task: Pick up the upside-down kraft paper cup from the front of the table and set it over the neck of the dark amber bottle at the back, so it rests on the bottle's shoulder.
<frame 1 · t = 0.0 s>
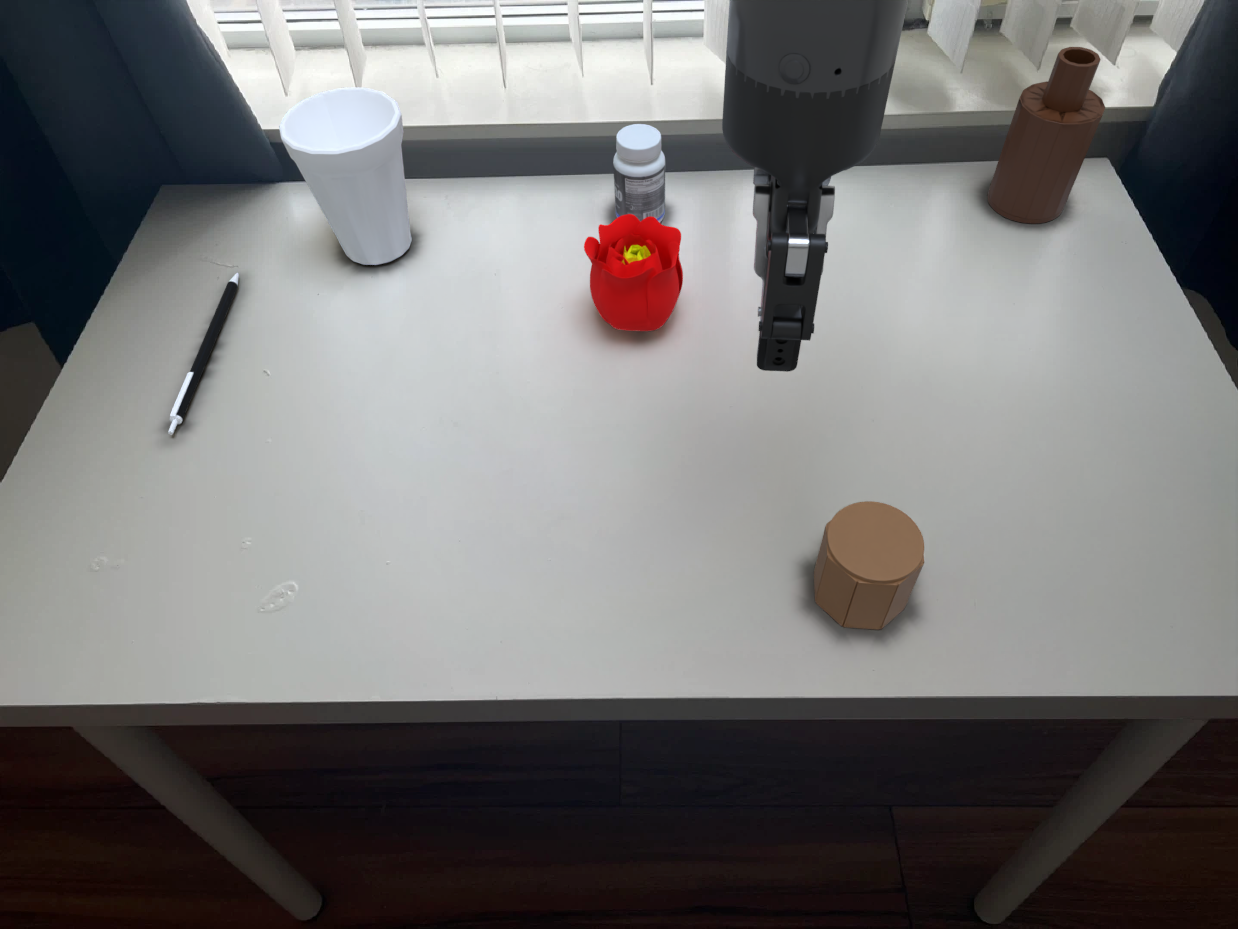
hand: (775, 314, 53), 16 cm above the table, tool pointing down, fingers open, 8 cm apart
bottle: (1025, 201, 84), on the table
flower: (637, 317, 77), on the table
pen: (209, 351, 76), on the table
pill bottle: (640, 217, 85), on the table
cup: (379, 248, 84), on the table
paper cup: (858, 589, 59), on the table
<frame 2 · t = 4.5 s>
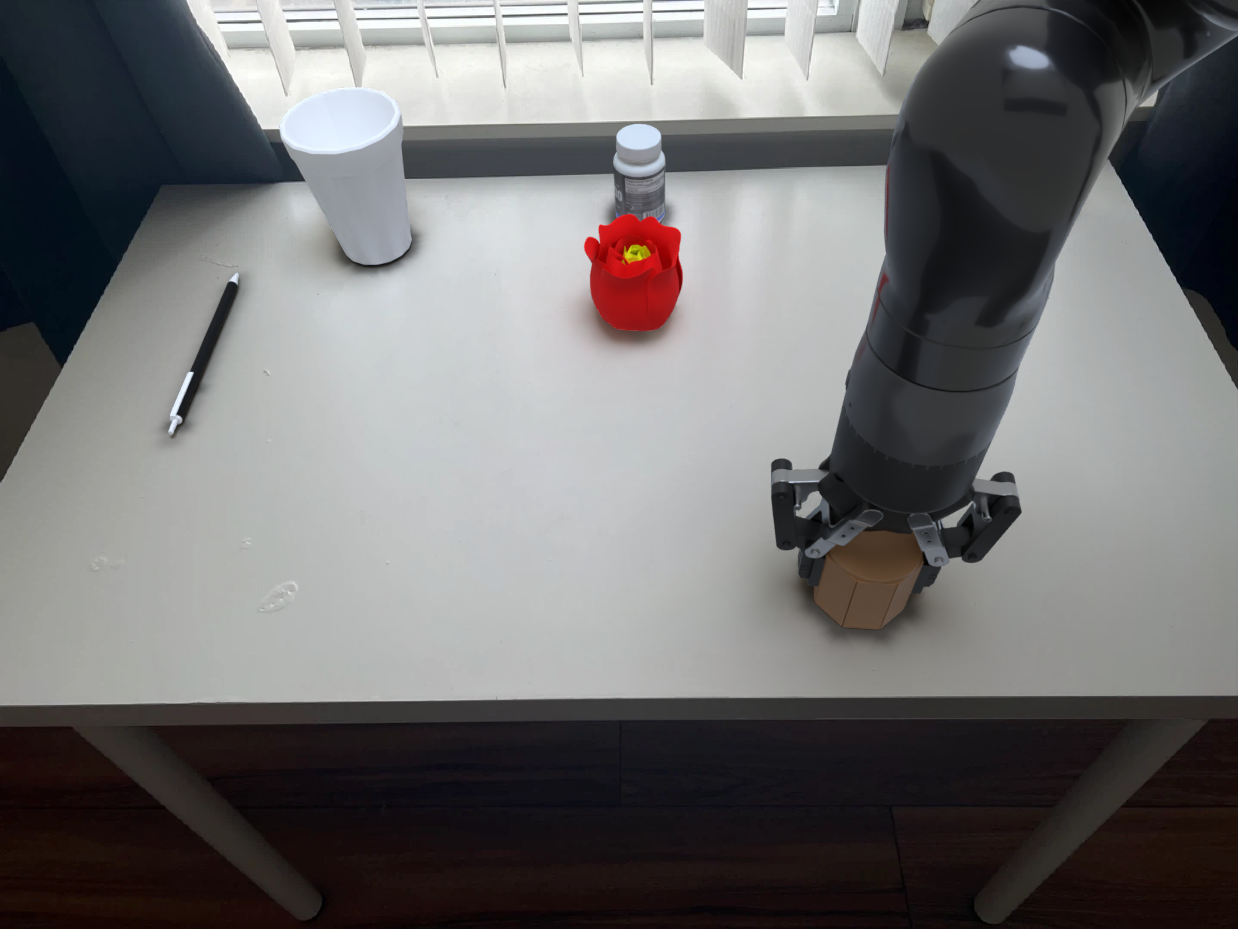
hand: (862, 577, 58), 2 cm above the table, tool pointing down, fingers closed on paper cup, 5 cm apart
paper cup: (857, 589, 59), on the table, touching gripper
everything else where it was.
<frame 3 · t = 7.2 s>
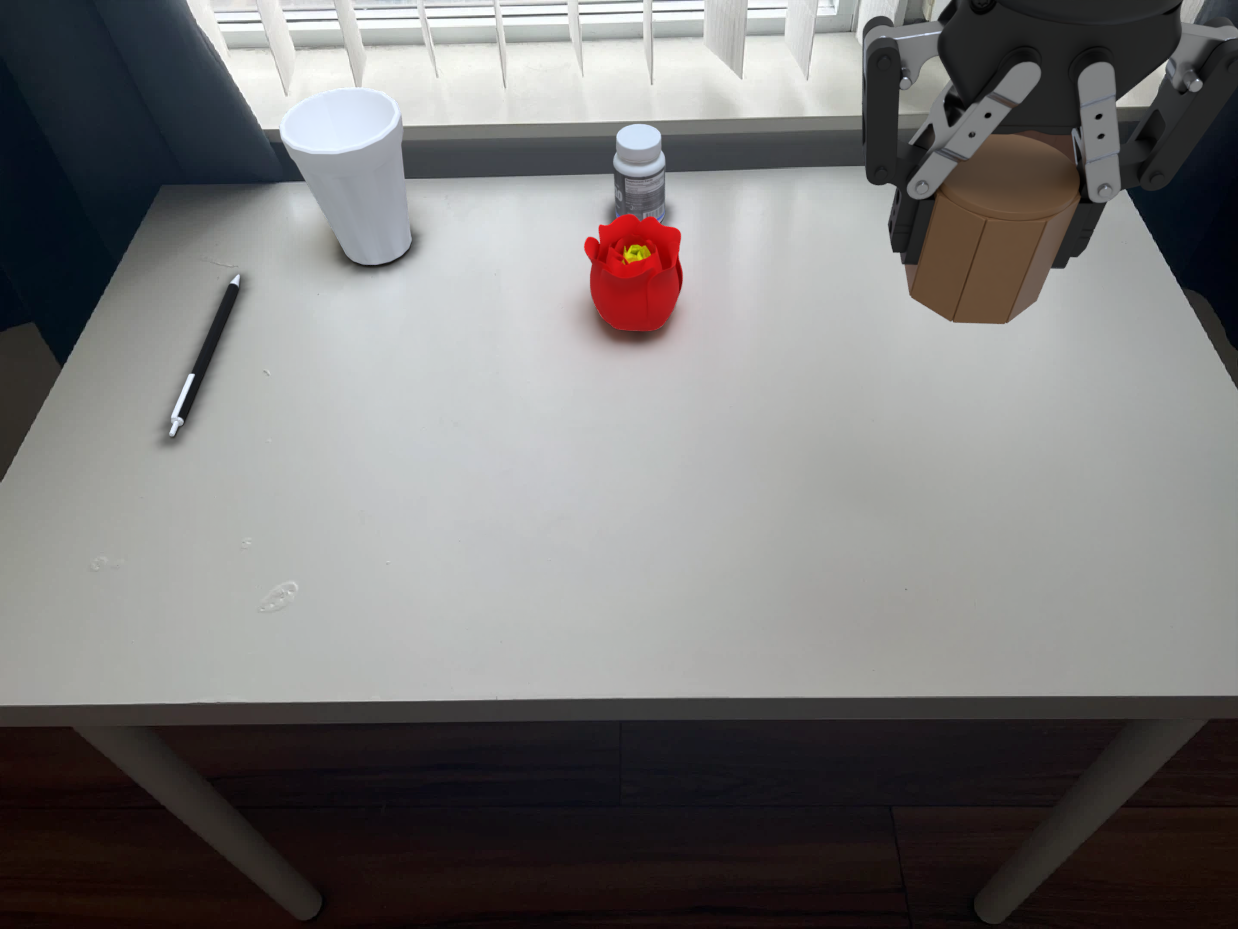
hand: (979, 254, 41), 25 cm above the table, tool pointing down, fingers closed on paper cup, 5 cm apart
paper cup: (969, 281, 42), point 24 cm above the table, touching gripper
everything else where it was.
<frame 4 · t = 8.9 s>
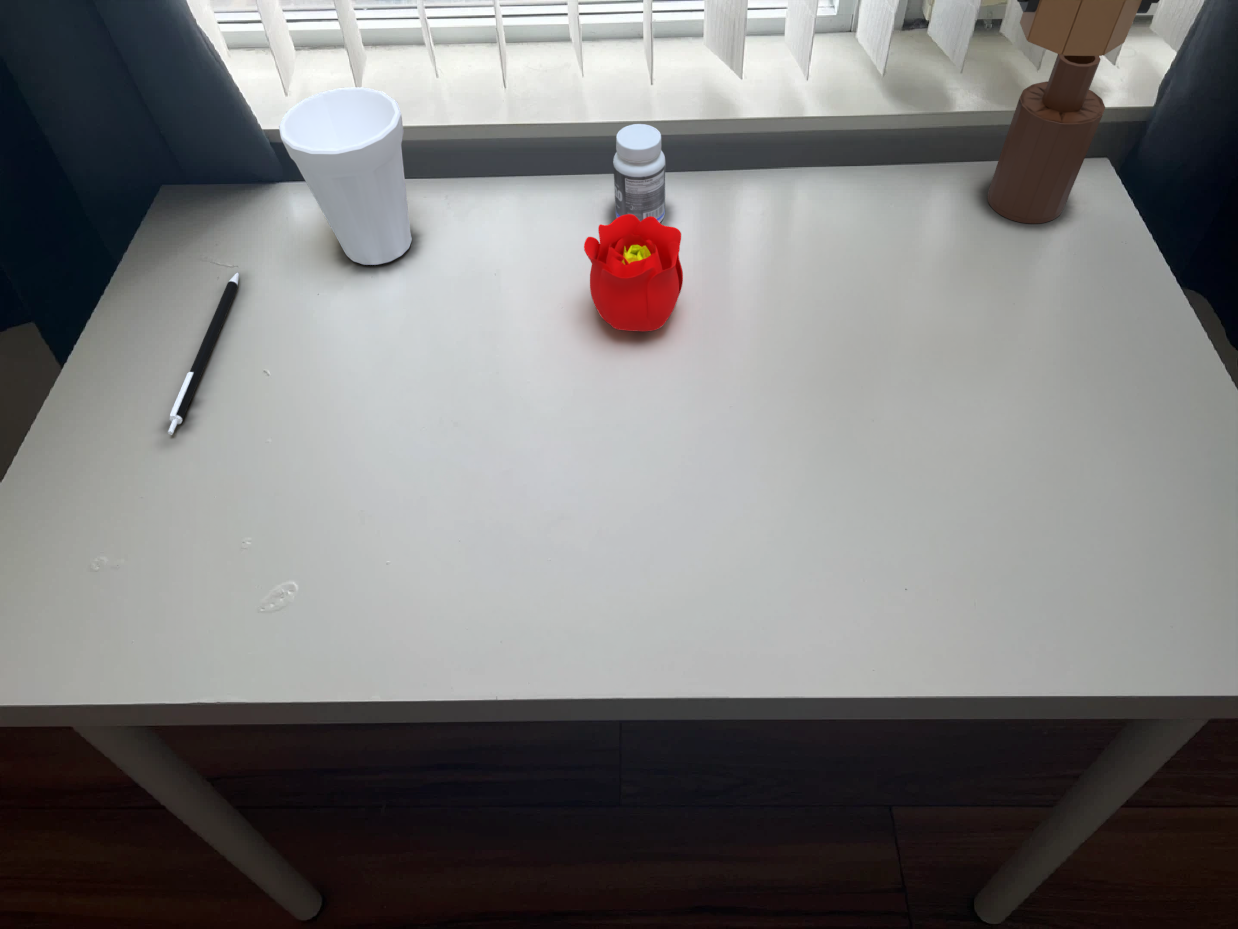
hand: (1081, 5, 54), 26 cm above the table, tool pointing down, fingers closed on paper cup, 5 cm apart
paper cup: (1071, 32, 55), point 24 cm above the table, touching gripper
everything else where it was.
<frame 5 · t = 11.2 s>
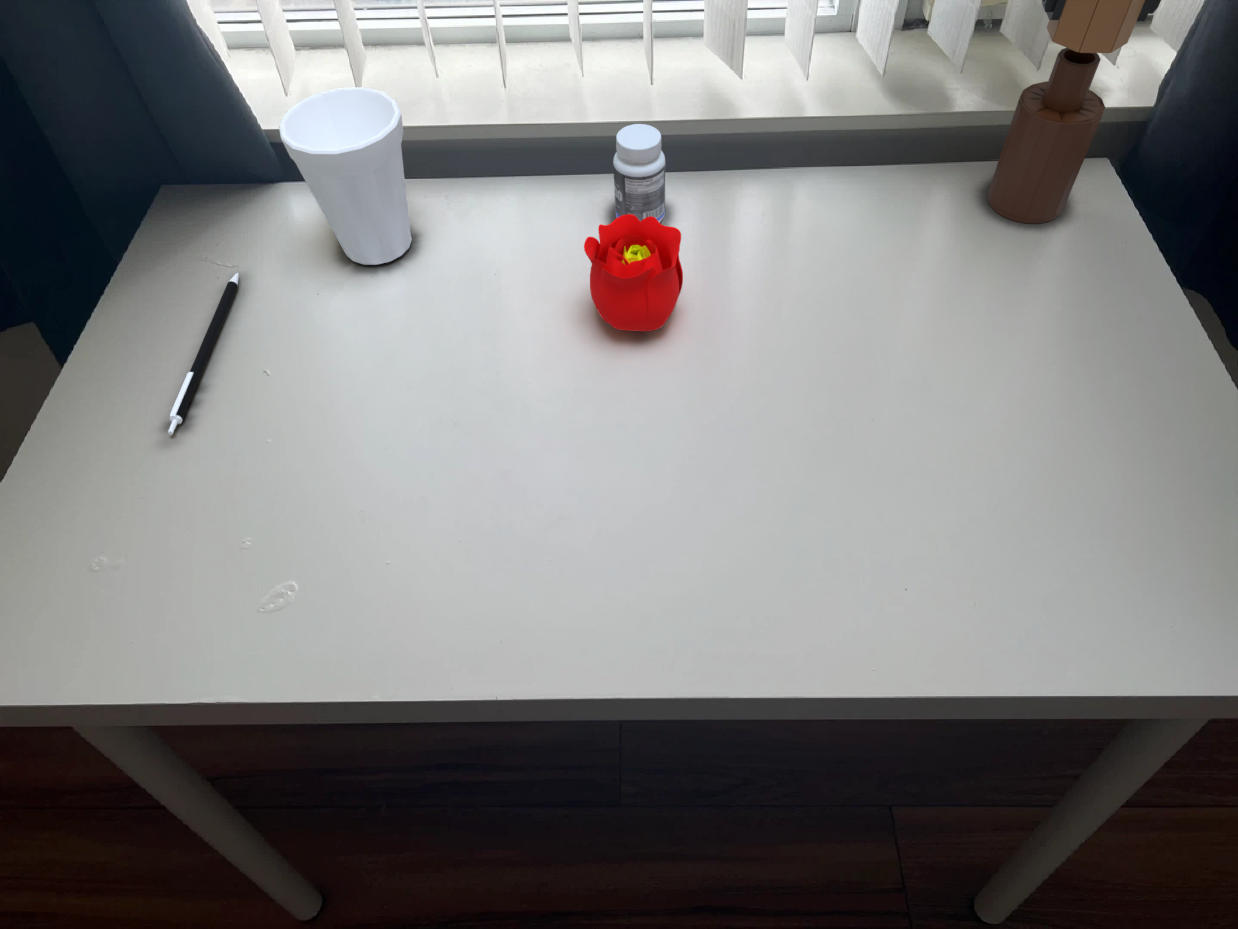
hand: (1094, 15, 71), 17 cm above the table, tool pointing down, fingers closed on paper cup, 5 cm apart
paper cup: (1086, 34, 72), point 16 cm above the table, touching gripper
everything else where it was.
when the fingers open (12 cm above the table, at t = 13.3 s): paper cup stays where it is, resting on bottle.
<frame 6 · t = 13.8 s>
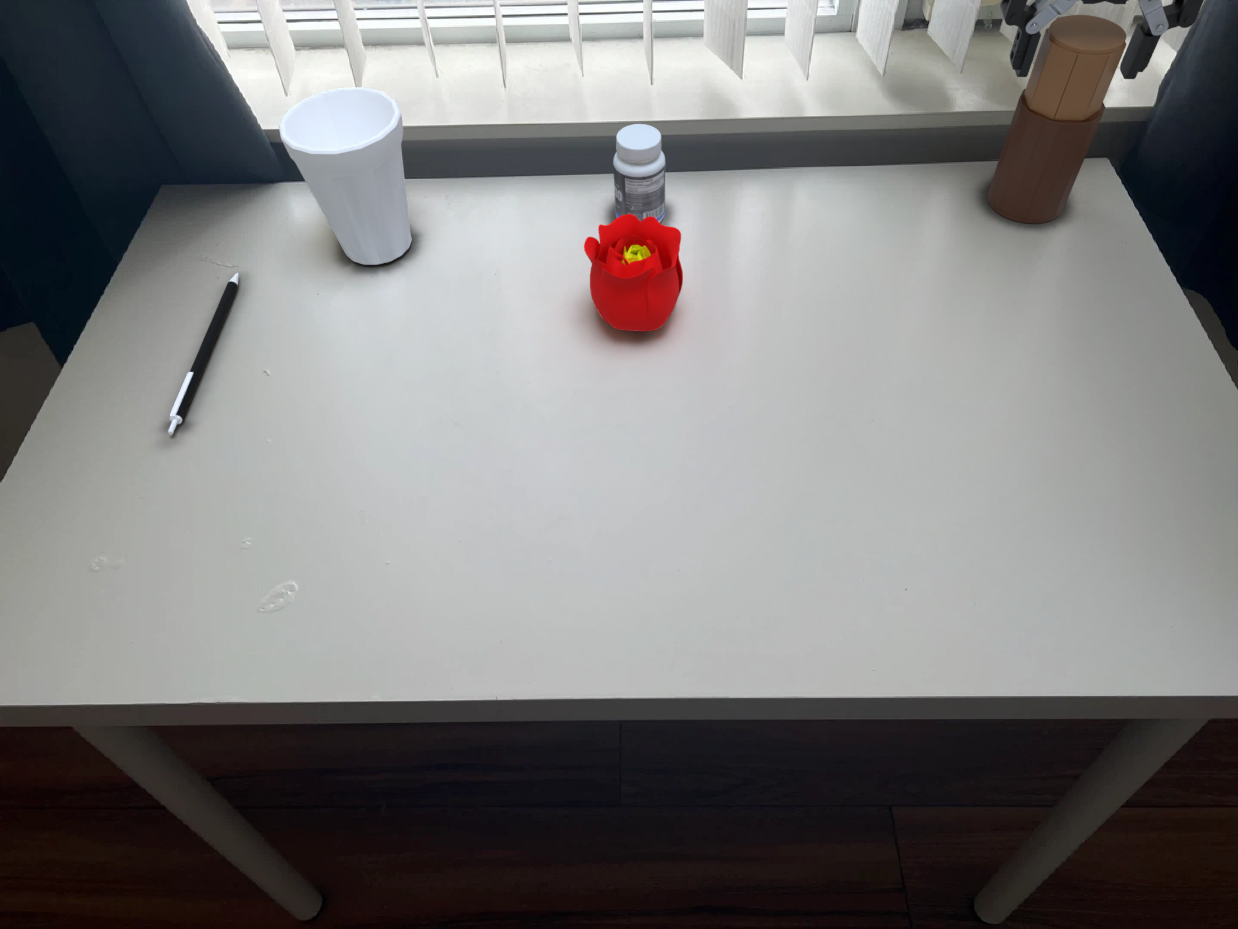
hand: (1073, 73, 74), 13 cm above the table, tool pointing down, fingers open, 8 cm apart
paper cup: (1061, 101, 76), point 10 cm above the table, touching bottle
everything else where it was.
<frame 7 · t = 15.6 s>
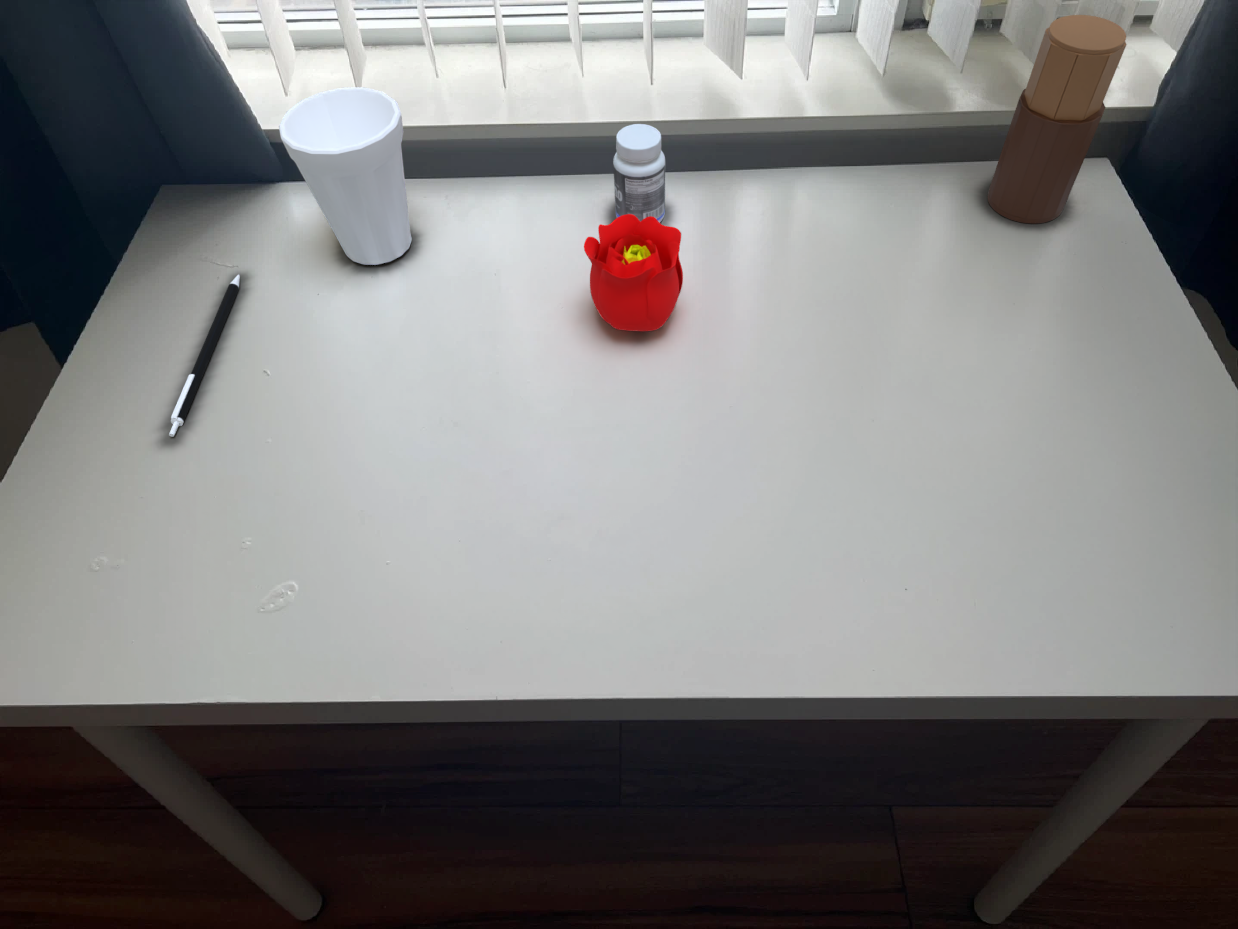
nothing on the table moved.
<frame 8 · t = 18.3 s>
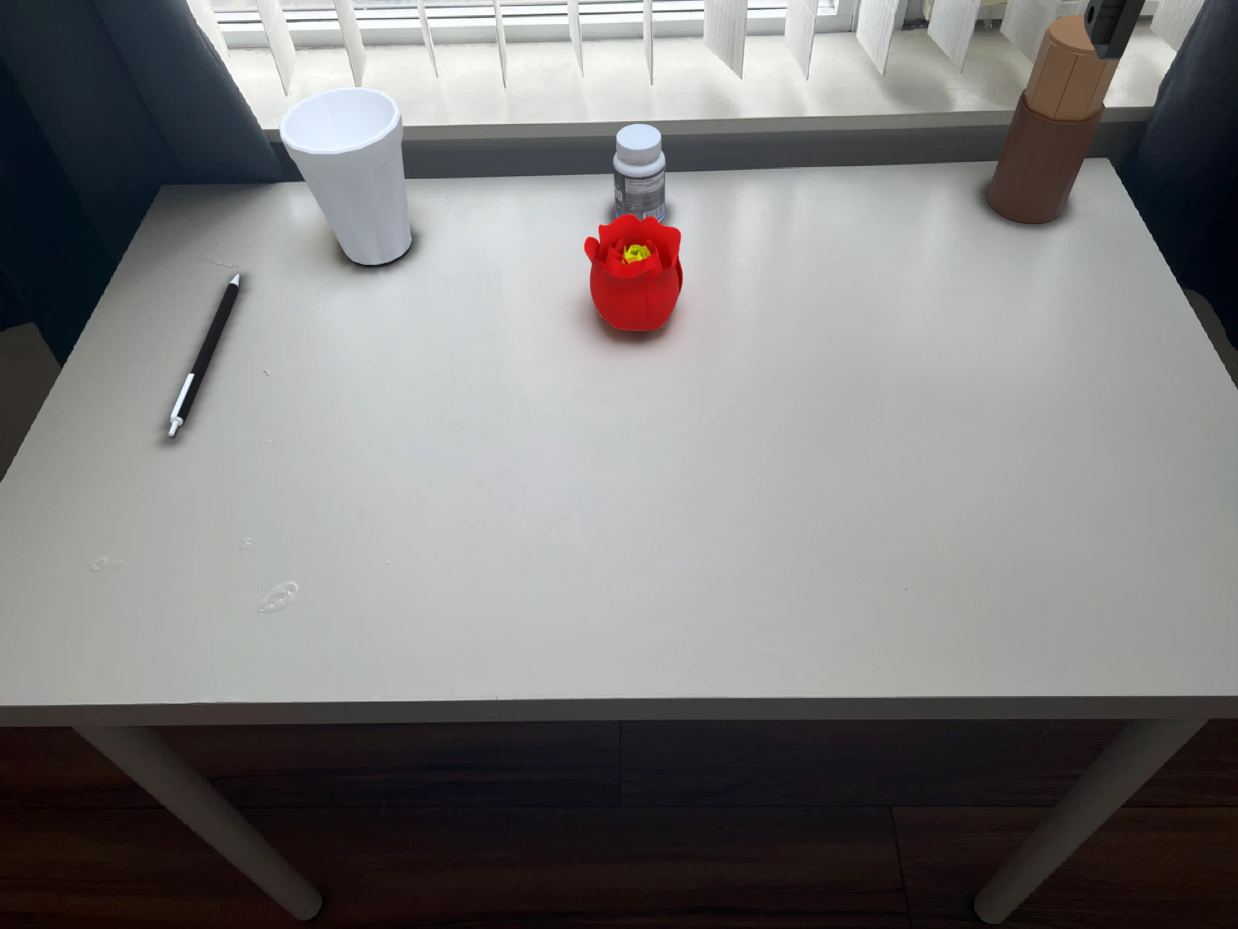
hand: (1213, 52, 36), 33 cm above the table, tool pointing down, fingers open, 8 cm apart
nothing on the table moved.
at the end: paper cup 0.1 cm off-centre in the bottle, point 10.0 cm above the bottle's base; paper cup tilted 0°; the gripper is holding nothing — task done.
